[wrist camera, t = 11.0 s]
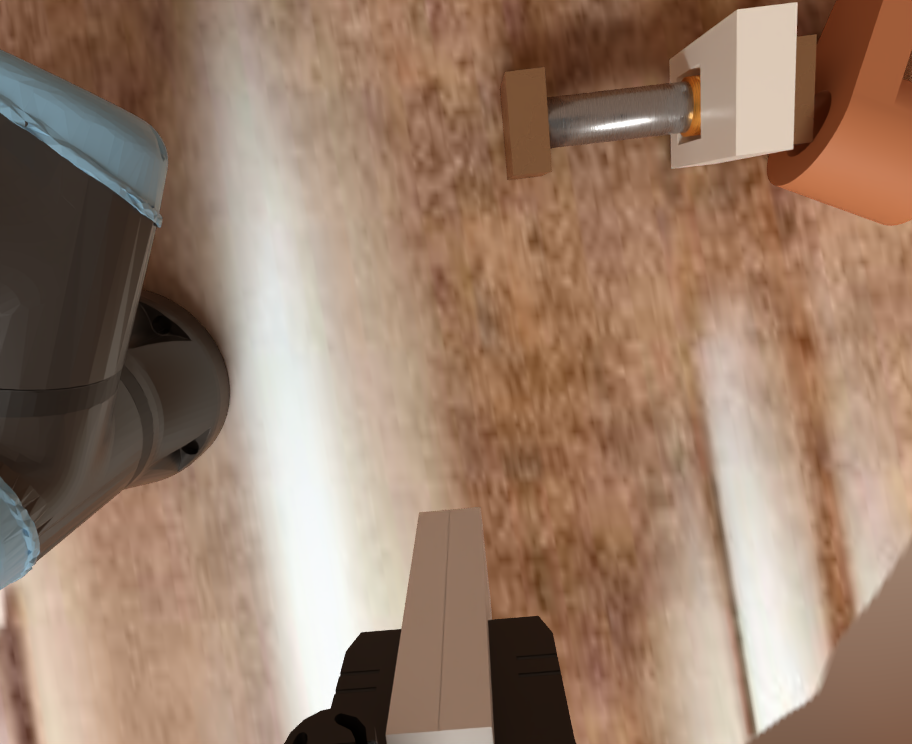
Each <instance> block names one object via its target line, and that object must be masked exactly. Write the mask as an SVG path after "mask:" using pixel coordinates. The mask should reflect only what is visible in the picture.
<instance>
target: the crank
mask: <svg viewBox="0 0 912 744" xmlns="http://www.w3.org/2000/svg"><path fill="white" fill-rule="evenodd" d="M911 51H912V0H836V2H835V5H834V7H833V9H832V11H831V14H830V16H829V18H828V20H827V23H826V25H825V27H824V30H823V32H822V34H821V36H820V39H819V41H818V43H817V45H816V70H815V97H814V124H813V142H810V143H805V144H800V145H794V146H793V149H792V150H786V151H781V152H776V153H770V154H769V157H768V163H767V175H768V179H769V181H770V182H771V183H772V184H773V185H775V186H778V187H781V188H784V189H786V190H789V191H792V192H795V193H798V194H800V195H803V196H806V197H809V198H811V199H814V200H817V201H820V202H822V203H825V204H828V205H831V206H833V207H836V208H839V209H842V210H844V211H847V212H850V213H853V214H855V215H858V216H861V217H864V218H867V219H869V220H872V221H875V222H878V223H880V224H883V225H891V226H892V225H898V224H902V223H905V222H907V221H909V220H912V82H910V81H907V80H905V79H902V78H903V75H904V72H905V69H906V66H907V63H908V60H909V57H910V54H911Z"/></svg>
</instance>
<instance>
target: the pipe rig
mask: <svg viewBox="0 0 912 744" xmlns="http://www.w3.org/2000/svg"><path fill="white" fill-rule="evenodd" d="M816 43H817V34H815V35H806V36H798V37H797V39H796V73H795V107H794V141H793V146H794V145H800V144H805V143H810V142H813V124H814V97H815V70H816ZM500 95H501V108H502V120H503V132H504V144H505V156H506V168H507V180H512V179H521V178H530V177H538V176H543V175H545V174H547V173H549V172H552V168H551V153H550V148H556V147H564V146H573V145H582V144H591V143H599V142H608V141H617V140H625V139H634V138H643V137H652V136H660V135H669V134H678V133H680V134H681V135H682V136H683V137H688V136H696V135H701V81H700V75H696V76H688V77H684V78H683V80H682V81H681V82H674V83H666V84H657V85H649V86H640V87H632V88H624V89H615V90H607V91H598V92H590V93H581V94H573V95H564V96H556V97H547V91H546V76H545V67H540V68H532V69H524V70H515V71H507V72H505V73H504V77H503V80H502V84H501V87H500Z"/></svg>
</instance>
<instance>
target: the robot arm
mask: <svg viewBox="0 0 912 744" xmlns="http://www.w3.org/2000/svg"><path fill="white" fill-rule="evenodd" d="M167 169H168V154H167V149H166V146H165V144H164V142H163V140H162V138H161V137H160V135H159V134H158V132H157V131H156V130H155V129H154V128H153V127H152V126H151V125H150V124H148V123H147V122H146V121H144V120H143V119H141V118H139V117H137V116H136V115H134V114H132V113H130V112H128V111H126V110H124V109H122V108H120V107H118V106H116V105H114V104H112V103H111V102H109V101H107V100H105V99H103V98H101V97H99V96H96V95H94V94H92V93H90V92H88V91H86V90H84V89H82V88H80V87H78V86H76V85H74V84H72V83H70V82H68V81H66V80H64V79H62V78H60V77H58V76H56V75H53V74H51V73H49V72H47V71H45V70H43V69H41V68H39V67H37V66H35V65H33V64H30V63H28V62H26V61H24V60H22V59H20V58H18V57H16V56H14V55H11V54H9V53H7V52H5V51H3V50H1V49H0V590H1V589H3V588H4V587H6V586H7V585H9V584H10V583H13V582H15V581H17V580H19V579H21V578H22V577H23V576H25V575H26V574H27V573H28V572H29V571H30V570H31V569H32V566H33V565H35V564H36V562H37V561H38V560H39V559H40V558H41V557H43V556H44V555H45V554H46V553H47V552H49V551H50V550H51V549H52V548H53V547H55V546H56V545H57V544H58V543H60V542H61V541H62V540H63V539H64V538H66V537H67V536H68V535H69V534H70V533H72V532H73V531H74V530H75V529H76V528H78V527H79V526H80V525H81V524H82V523H84V522H85V521H86V520H87V519H88V518H90V517H91V516H92V515H93V514H94V513H96V512H97V511H98V510H99V509H100V508H102V507H103V506H104V505H105V504H106V503H108V502H109V501H110V500H111V499H113V498H114V497H115V496H116V495H117V494H119V493H120V492H121V491H122V490H124V489H128V488H132V487H136V486H140V485H145V484H149V483H153V482H157V481H160V480H163V479H166V478H168V477H171V476H173V475H175V474H177V473H178V472H180V471H182V470H183V469H185V468H186V467H188V466H189V465H190V464H192V463H193V462H194V461H195V460H196V459H197V458H198V457H200V456H201V455H202V454H203V453H204V452H205V451H206V450H207V449H208V448H209V447H210V446H211V445H212V443H213V442H214V441H215V439H216V438H217V436H218V434H219V433H220V431H221V429H222V427H223V424H224V422H225V419H226V416H227V411H228V406H229V381H228V375H227V371H226V367H225V364H224V361H223V358H222V356H221V353H220V351H219V349H218V347H217V346H216V344H215V342H214V340H213V339H212V337H211V336H210V335H209V333H208V332H207V331H206V329H205V328H204V327H203V326H202V325H201V324H200V323H199V322H198V321H197V320H196V319H195V318H194V317H193V316H192V315H191V314H190V313H189V312H187V311H186V310H185V309H183V308H182V307H180V306H179V305H177V304H176V303H174V302H172V301H171V300H169V299H167V298H165V297H162V296H160V295H158V294H155V293H152V292H149V291H145V290H142V287H143V282H144V278H145V274H146V270H147V265H148V261H149V257H150V253H151V248H152V244H153V240H154V235H155V231H156V227H161V225H162V216H161V215H160V207H161V202H162V196H163V191H164V185H165V180H166V174H167ZM340 674H341V675H340V677H339V679H338V683H337V687H336V694H334V698H333V702H332V705H331V709H327V710H323V711H320V712H318V713H316V714H314V715H312V716H310V717H308V718H307V719H305V720H303V721H302V722H301V723H300V724H299V725H298V726H297V727H296V728H295V729H294V730H293V731H292V732H291V733H290V734H289V736H288V738H287V740H286V742H285V743H284V744H576V742H575V739H574V734H573V729H572V725H571V720H570V715H569V710H568V705H567V700H566V696H565V691H564V686H563V681H562V676H561V672H560V666H559V662H558V657H557V652H556V647H555V642H554V637H553V633H552V631H551V630H550V629H549V628H548V627H547V626H546V624H545V623H544V622H543V621H542V620H541V618H540V617H539V616H531V617H519V618H507V619H495V620H492V615H491V601H490V592H489V583H488V573H487V564H486V555H485V545H484V536H483V526H482V517H481V508H480V507H475V508H464V509H453V510H442V511H431V512H420V513H419V517H418V524H417V531H416V537H415V544H414V550H413V557H412V564H411V570H410V577H409V583H408V590H407V596H406V603H405V610H404V616H403V623H402V629H397V630H385V631H373V632H361V633H360V635H359V636H358V637H357V638H356V640H355V641H354V642H353V643H352V645H351V646H350V647H349V648H348V650H347V651H346V654H345V657H344V661H343V665H342V668H341V672H340Z"/></svg>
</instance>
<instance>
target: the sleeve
mask: <svg viewBox="0 0 912 744" xmlns="http://www.w3.org/2000/svg"><path fill="white" fill-rule="evenodd" d="M797 5H798V2H794V3H786V4H778V5H770V6H762V7H754V8H746V9H737V10H736V11H734V12H733V13H732V14H730V15H729V16H728V17H726V18H725V19H723V20H722V21H721V22H719V23H718V24H717V25H715V26H714V27H713V28H711V29H710V30H709V31H707V32H706V33H705V34H703V35H702V36H700V37H699V38H698V39H696V40H695V41H694V42H692V43H691V44H690V45H688V46H687V47H686V48H684V49H683V50H681V51H680V52H679V53H677V54H676V55H675V56H673V57H672V58H671V59H669V70H670V83H674V82H681V81H682V80H683V78H684V77H688V76H696V75H700V81H701V135H696V136H688V137H683V136H682V135H681V134H680V133H678V134H671V169H673V168H682V167H691V166H700V165H709V164H716V163H722V162H727V161H733V160H738V159H743V158H749V157H754V156H760V155H765V154H770V153H776V152H781V151H786V150H792V149H793V141H794V107H795V73H796V39H797Z"/></svg>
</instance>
